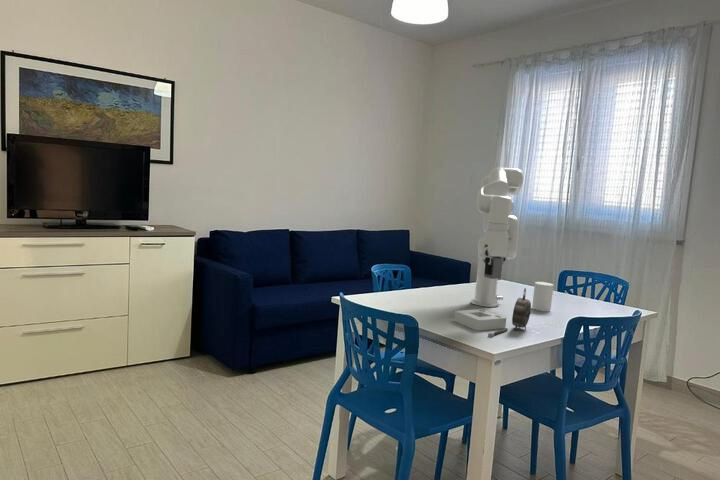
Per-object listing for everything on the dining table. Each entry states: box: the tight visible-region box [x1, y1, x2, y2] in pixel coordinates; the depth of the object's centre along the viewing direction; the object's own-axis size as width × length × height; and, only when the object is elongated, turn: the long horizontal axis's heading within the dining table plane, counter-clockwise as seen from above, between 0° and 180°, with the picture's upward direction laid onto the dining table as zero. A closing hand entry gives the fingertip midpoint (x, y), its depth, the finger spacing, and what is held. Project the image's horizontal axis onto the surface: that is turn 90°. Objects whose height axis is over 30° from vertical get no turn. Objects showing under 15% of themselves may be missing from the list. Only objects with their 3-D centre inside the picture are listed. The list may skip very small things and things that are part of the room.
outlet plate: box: [453, 308, 507, 331], centre depth 204 cm, size 14×14×4 cm
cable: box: [487, 327, 509, 338], centre depth 192 cm, size 14×1×1 cm, turn 140°
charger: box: [484, 257, 504, 280], centre depth 204 cm, size 4×4×8 cm
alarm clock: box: [511, 287, 532, 332], centre depth 201 cm, size 11×5×16 cm, turn 150°
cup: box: [531, 281, 555, 312], centre depth 241 cm, size 8×8×12 cm
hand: (492, 273), depth 204 cm, fingers closed on charger, 4 cm apart
